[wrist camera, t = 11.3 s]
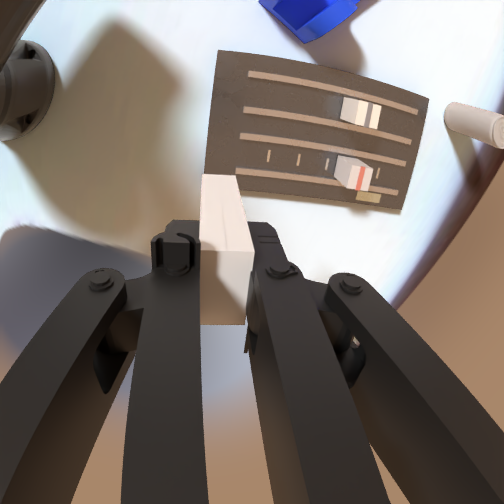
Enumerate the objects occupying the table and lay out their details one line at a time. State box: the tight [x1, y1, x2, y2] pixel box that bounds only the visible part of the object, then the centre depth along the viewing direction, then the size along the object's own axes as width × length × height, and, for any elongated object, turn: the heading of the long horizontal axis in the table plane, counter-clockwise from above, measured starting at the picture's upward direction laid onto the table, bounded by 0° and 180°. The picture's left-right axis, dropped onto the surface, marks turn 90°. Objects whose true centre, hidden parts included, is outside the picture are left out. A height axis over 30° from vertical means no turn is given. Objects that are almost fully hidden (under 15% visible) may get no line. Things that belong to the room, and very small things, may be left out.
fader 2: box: [334, 155, 373, 191], centre depth 39 cm, size 3×3×5 cm
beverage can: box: [444, 102, 504, 149], centre depth 35 cm, size 5×5×12 cm
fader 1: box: [340, 97, 381, 129], centre depth 35 cm, size 3×3×5 cm
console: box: [204, 50, 429, 210], centre depth 40 cm, size 30×18×3 cm, turn 82°
